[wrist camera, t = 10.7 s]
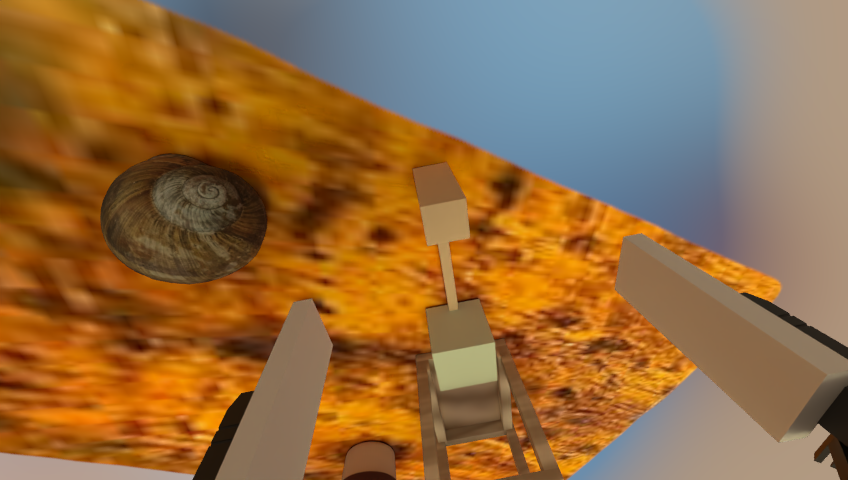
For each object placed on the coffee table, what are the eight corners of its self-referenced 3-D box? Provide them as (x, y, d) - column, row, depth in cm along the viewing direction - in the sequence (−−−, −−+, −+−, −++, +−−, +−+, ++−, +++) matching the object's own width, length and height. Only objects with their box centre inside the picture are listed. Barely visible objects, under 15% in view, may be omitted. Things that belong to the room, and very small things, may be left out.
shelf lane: (415, 355, 37) (426, 504, 24) (503, 338, 37) (563, 479, 24) (435, 429, 44) (452, 574, 31) (508, 415, 44) (556, 554, 31)
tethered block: (395, 172, 26) (396, 211, 19) (463, 158, 26) (489, 193, 19) (432, 338, 37) (442, 400, 30) (480, 329, 37) (500, 389, 30)
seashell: (292, 184, 26) (254, 222, 19) (261, 266, 30) (219, 324, 23) (143, 117, 23) (31, 133, 16) (128, 218, 26) (30, 268, 19)
